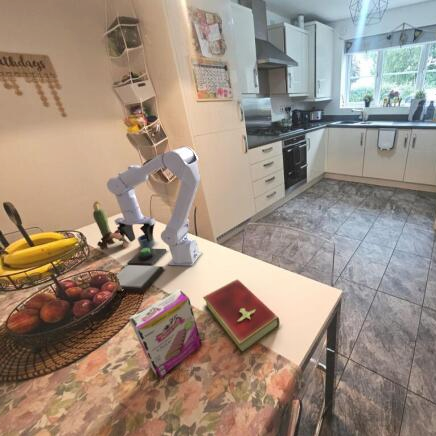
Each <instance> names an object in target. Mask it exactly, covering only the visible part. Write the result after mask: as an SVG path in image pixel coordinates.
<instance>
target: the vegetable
mask: <svg viewBox="0 0 436 436" xmlns="http://www.w3.org/2000/svg"><path fill="white" fill-rule="evenodd" d="M99 205H100V203H99V201H98V200H95V201H94V202H93V205H92V208H93V210H94V211H92V212H93V213H92V216H93V219H94V221H95V223H96V225H97V227H98V229H99V231H100V234H101V236H102V237H103V236H104V235H105V234H107V233H108V232H112V230H111V229H110V226H109V220H108V216H107V213H106V211H105V210H104V209H102V208H100V206H99Z"/></svg>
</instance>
